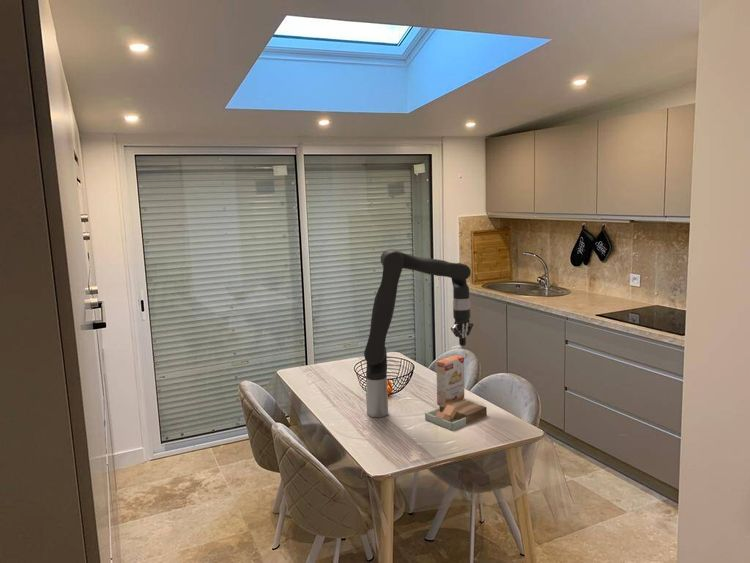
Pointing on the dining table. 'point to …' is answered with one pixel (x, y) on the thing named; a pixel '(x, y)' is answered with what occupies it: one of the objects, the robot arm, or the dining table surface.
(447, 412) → the tile
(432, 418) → the tray
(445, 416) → the tile
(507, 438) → the dining table surface
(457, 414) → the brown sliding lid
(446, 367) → the cracker box
